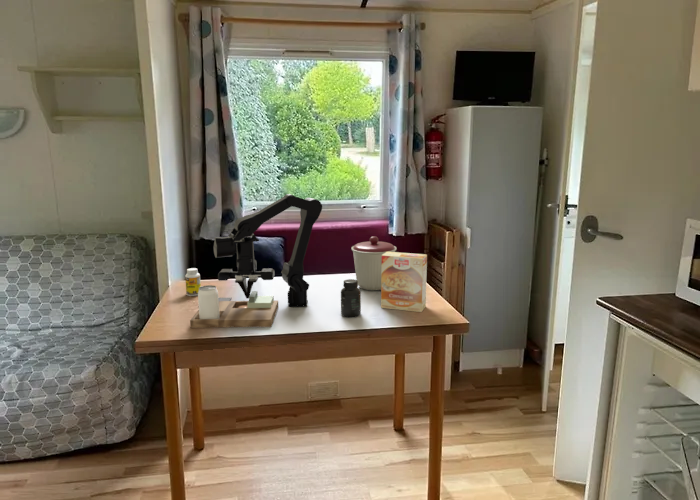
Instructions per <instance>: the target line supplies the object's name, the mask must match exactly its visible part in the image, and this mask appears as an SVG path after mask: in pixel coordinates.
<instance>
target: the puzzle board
mask: <svg viewBox="0 0 700 500" xmlns="http://www.w3.org/2000/svg"><path fill="white" fill-rule="evenodd" d="M248 301H249V300H231V301H219V315H220V318H219V319H200V318H199V309H198V310H197V311H196V312H195V314H194V315H193V316H192V317H191V319H190V320H189V325H190V326H189V327H190V329H199V328H200V329H202V328H203V329H207V328H213V329H214V328H271V327H272V326H273V323H274V321H275V317H276V315H277V312H278V309H279V300H274V301H273V304H272V306H271V308H238V307H240V306H247V303H248Z"/></svg>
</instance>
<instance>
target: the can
mask: <svg viewBox="0 0 700 500" xmlns="http://www.w3.org/2000/svg"><path fill="white" fill-rule="evenodd" d="M218 298H219V291H218V289H217V286H216V285H212V284H209V285H207V284H206V285H202V286H201V287H199V291H198V295H197V301H198V302H197V303H198V306H199V307H198V310H199V318H200V319H219V318H220V315H219V299H218Z"/></svg>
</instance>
